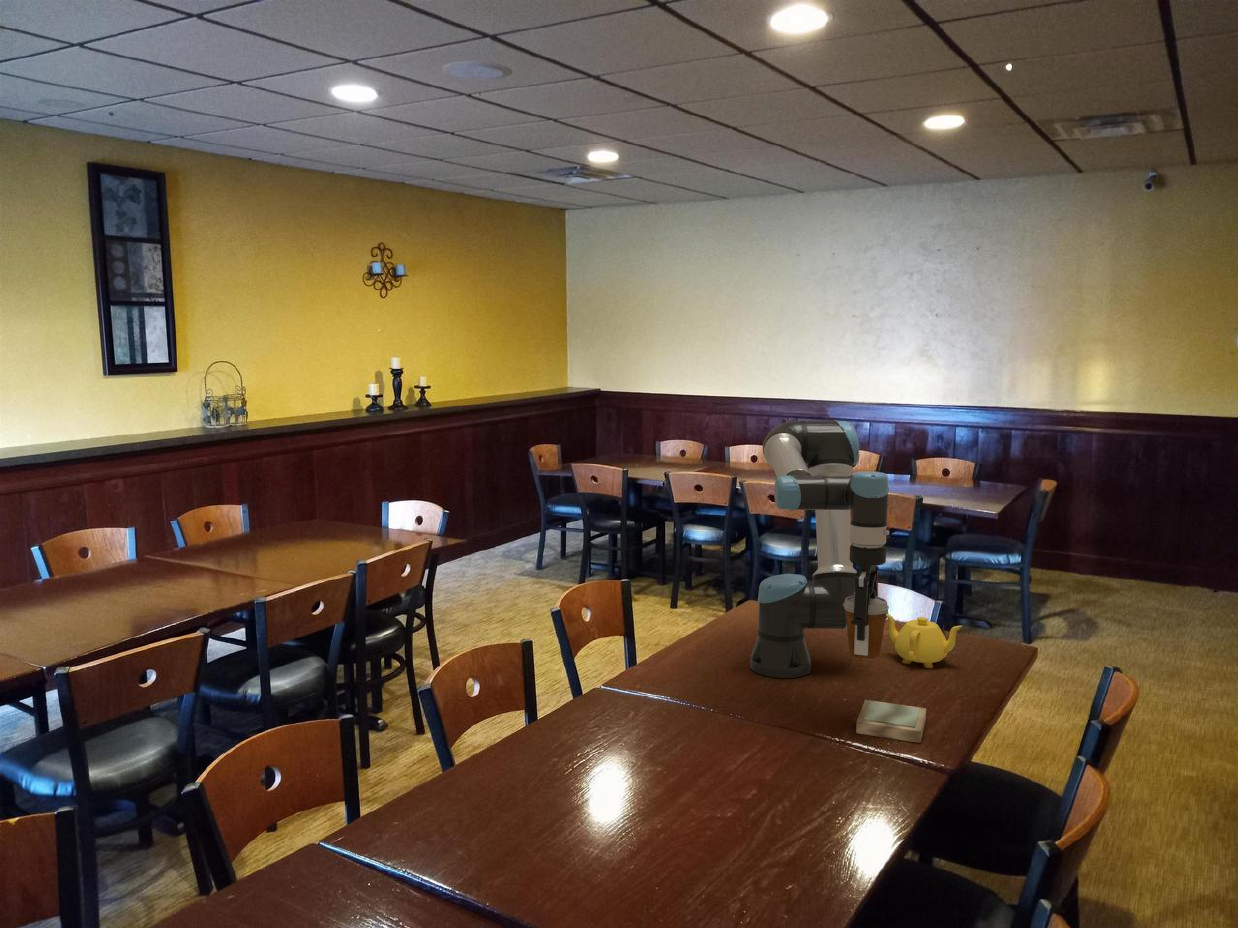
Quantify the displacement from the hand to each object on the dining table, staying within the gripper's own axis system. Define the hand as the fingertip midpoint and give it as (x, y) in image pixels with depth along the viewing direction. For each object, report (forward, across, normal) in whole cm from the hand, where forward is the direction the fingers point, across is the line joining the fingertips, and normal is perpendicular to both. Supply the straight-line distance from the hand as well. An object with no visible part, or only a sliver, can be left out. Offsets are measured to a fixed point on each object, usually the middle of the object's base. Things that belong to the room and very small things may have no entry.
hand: (865, 648), depth 201 cm
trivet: (+16, 0, -6) cm, 17 cm away
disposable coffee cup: (+1, 0, 0) cm, 1 cm away
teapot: (+15, +44, -6) cm, 47 cm away
